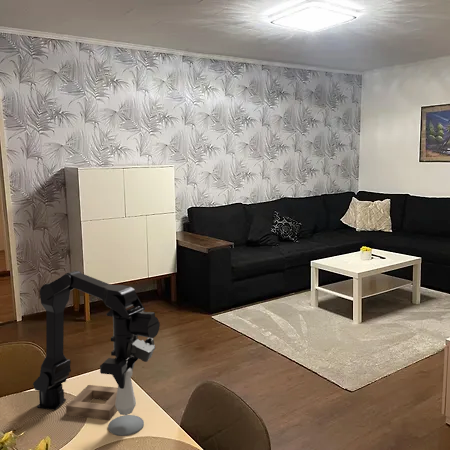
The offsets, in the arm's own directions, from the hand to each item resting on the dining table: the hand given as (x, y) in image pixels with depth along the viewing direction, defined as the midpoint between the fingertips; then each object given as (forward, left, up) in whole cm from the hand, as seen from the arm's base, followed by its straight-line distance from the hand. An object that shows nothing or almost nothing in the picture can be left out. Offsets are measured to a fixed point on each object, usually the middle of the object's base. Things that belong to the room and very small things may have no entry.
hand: (125, 385), depth 133 cm
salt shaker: (0, 0, -8) cm, 8 cm away
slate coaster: (0, 0, -12) cm, 12 cm away
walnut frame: (-13, +9, -12) cm, 20 cm away
